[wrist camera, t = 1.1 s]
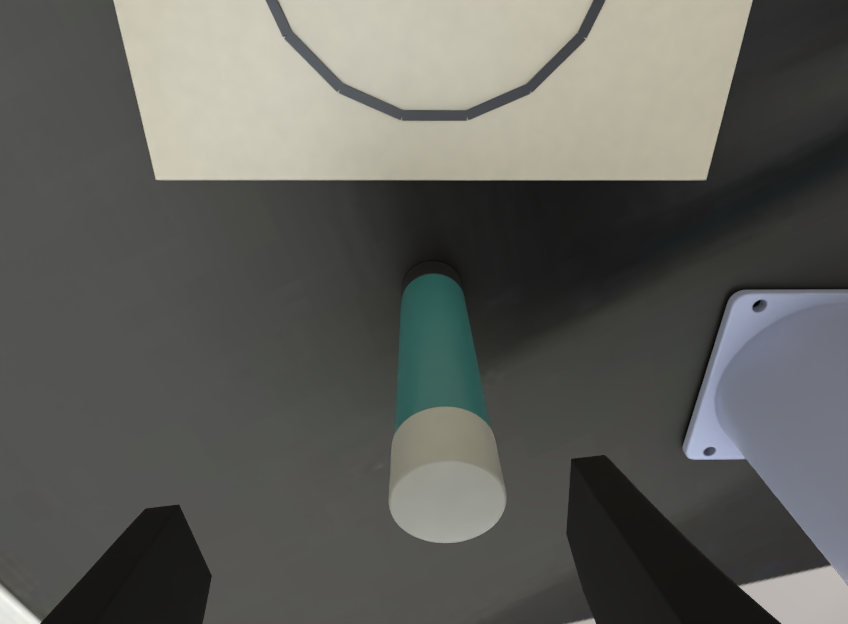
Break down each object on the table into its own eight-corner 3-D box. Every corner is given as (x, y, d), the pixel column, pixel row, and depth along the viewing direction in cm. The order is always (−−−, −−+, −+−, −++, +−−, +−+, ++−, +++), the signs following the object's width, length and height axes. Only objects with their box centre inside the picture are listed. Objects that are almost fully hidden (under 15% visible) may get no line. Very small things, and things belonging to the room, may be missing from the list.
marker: (464, 258, 18) (511, 459, 9) (461, 315, 19) (502, 543, 10) (400, 258, 18) (386, 460, 9) (401, 315, 19) (389, 544, 10)
